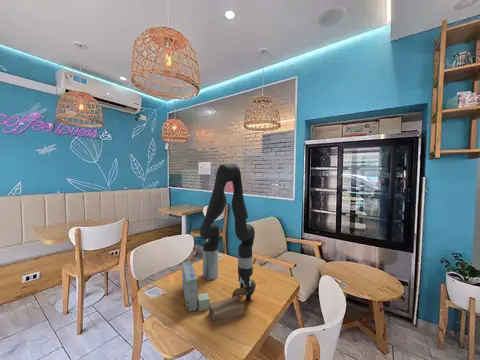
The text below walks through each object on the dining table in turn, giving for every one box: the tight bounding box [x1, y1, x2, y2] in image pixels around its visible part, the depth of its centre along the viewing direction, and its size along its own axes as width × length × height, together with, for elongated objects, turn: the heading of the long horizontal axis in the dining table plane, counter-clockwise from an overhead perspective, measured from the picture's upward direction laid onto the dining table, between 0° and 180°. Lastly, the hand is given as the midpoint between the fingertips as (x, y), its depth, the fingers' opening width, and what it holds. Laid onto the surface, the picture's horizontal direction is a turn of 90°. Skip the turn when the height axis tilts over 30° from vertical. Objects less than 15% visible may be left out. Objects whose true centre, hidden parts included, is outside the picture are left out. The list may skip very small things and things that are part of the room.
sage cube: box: [198, 292, 211, 312], centre depth 100 cm, size 5×5×5 cm
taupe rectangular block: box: [208, 296, 246, 326], centre depth 95 cm, size 8×14×5 cm, turn 116°
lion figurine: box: [231, 279, 257, 302], centre depth 105 cm, size 15×5×9 cm, turn 121°
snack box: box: [181, 261, 199, 313], centre depth 106 cm, size 21×6×15 cm, turn 21°
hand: (245, 296), depth 106 cm, fingers open, 8 cm apart
